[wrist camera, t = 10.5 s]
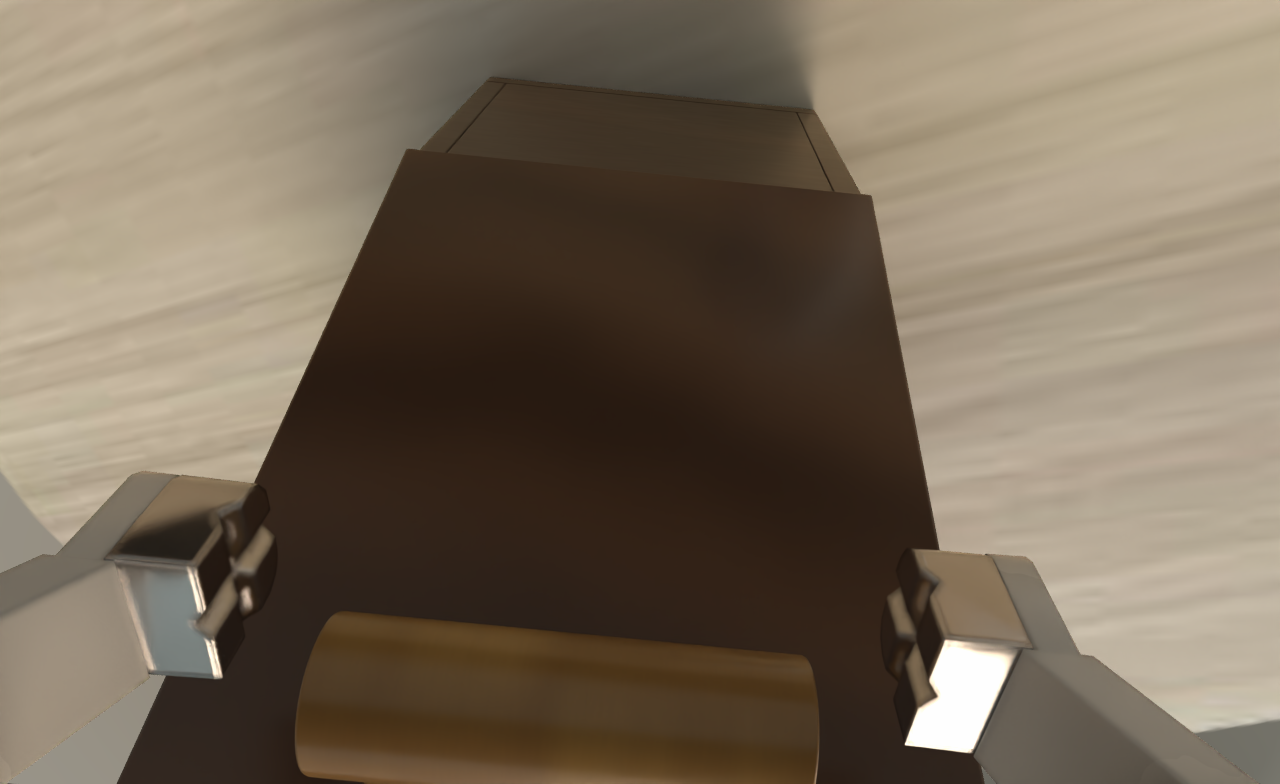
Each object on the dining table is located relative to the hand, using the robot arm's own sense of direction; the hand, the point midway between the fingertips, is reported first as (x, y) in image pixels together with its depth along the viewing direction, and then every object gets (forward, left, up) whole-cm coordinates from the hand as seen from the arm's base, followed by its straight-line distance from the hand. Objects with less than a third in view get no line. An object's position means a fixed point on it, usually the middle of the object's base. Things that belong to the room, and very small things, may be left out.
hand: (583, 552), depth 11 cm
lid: (0, +3, -6) cm, 6 cm away
